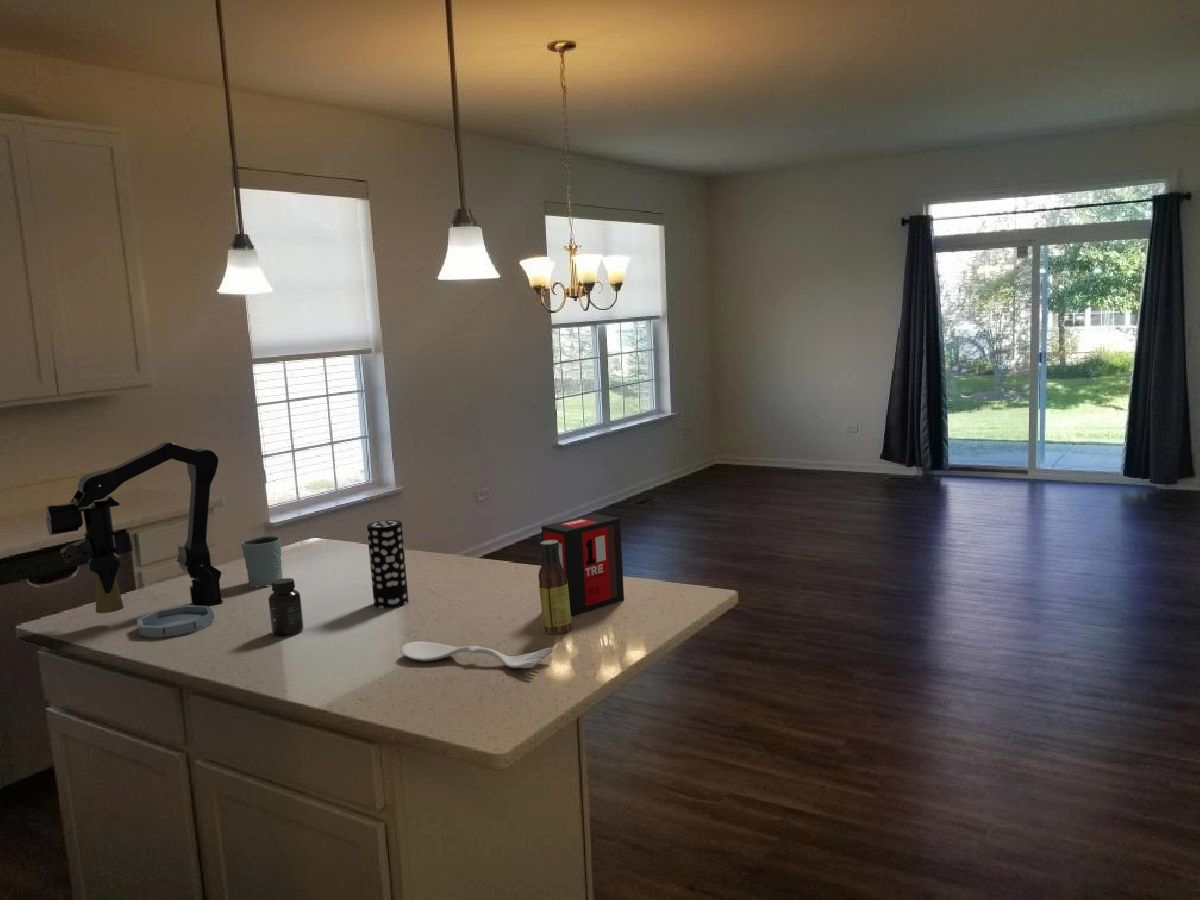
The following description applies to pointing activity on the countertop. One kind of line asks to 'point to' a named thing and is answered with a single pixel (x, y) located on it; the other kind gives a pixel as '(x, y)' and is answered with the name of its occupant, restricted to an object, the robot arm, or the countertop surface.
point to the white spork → (439, 651)
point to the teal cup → (263, 560)
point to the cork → (107, 597)
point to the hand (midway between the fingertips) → (107, 590)
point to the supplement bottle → (285, 608)
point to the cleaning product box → (590, 560)
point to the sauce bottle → (553, 590)
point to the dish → (175, 621)
